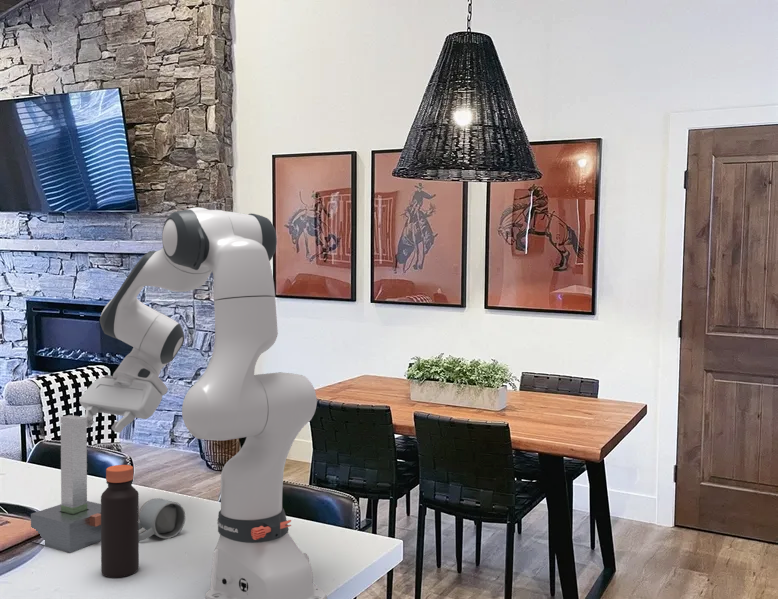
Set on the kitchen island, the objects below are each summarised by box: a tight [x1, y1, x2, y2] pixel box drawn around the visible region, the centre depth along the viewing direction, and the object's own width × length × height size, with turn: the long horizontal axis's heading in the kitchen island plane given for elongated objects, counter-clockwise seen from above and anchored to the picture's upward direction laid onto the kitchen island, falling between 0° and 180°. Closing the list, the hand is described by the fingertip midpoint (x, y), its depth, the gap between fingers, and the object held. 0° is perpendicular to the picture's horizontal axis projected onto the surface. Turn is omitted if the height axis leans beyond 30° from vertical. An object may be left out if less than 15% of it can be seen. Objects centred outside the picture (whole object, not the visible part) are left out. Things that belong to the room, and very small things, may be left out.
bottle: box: [100, 464, 140, 579], centre depth 148 cm, size 7×7×20 cm
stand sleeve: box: [30, 500, 101, 554], centre depth 164 cm, size 14×12×6 cm
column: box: [60, 414, 88, 515], centre depth 164 cm, size 5×4×21 cm
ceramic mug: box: [139, 497, 186, 542], centre depth 167 cm, size 11×8×8 cm
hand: (100, 428), depth 170 cm, fingers open, 8 cm apart
